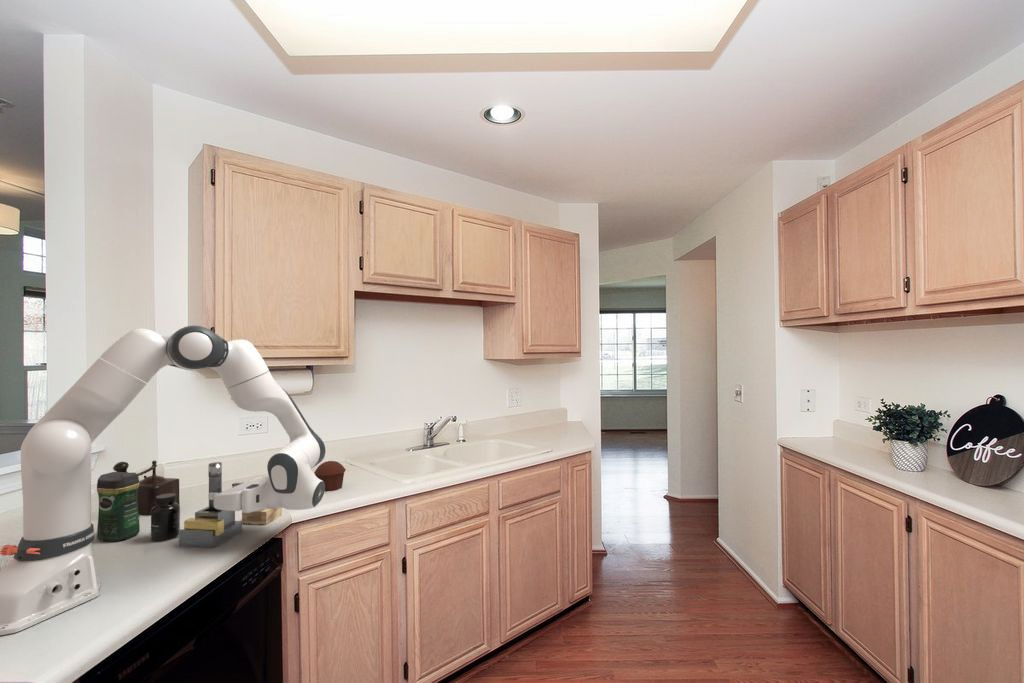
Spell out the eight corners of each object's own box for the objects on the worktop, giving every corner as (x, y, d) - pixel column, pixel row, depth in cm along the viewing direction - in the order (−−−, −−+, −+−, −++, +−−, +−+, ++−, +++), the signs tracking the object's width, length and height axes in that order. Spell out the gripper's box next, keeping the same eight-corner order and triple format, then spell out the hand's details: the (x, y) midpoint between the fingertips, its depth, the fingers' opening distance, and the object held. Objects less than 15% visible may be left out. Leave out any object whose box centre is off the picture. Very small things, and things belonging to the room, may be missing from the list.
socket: (212, 548, 132) (212, 518, 132) (178, 546, 134) (178, 517, 134) (242, 531, 144) (241, 504, 144) (211, 529, 146) (210, 503, 146)
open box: (266, 524, 149) (266, 511, 149) (242, 523, 150) (241, 510, 150) (281, 515, 157) (281, 503, 157) (258, 514, 158) (258, 502, 158)
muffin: (311, 486, 189) (311, 461, 189) (341, 482, 195) (340, 457, 195) (318, 494, 179) (318, 467, 179) (349, 489, 185) (349, 463, 185)
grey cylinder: (216, 528, 139) (216, 465, 139) (205, 528, 139) (205, 464, 139) (224, 524, 142) (224, 462, 142) (214, 523, 142) (214, 461, 142)
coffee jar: (145, 532, 144) (145, 469, 144) (119, 543, 136) (118, 476, 136) (118, 530, 146) (118, 468, 146) (90, 541, 138) (90, 475, 138)
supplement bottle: (146, 543, 136) (146, 500, 136) (157, 534, 143) (156, 493, 143) (174, 540, 138) (174, 498, 138) (183, 531, 144) (183, 491, 144)
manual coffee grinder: (151, 504, 170) (151, 452, 170) (180, 505, 168) (180, 452, 168) (109, 520, 154) (109, 463, 154) (141, 521, 153) (141, 464, 153)
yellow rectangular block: (217, 535, 133) (217, 522, 133) (184, 534, 134) (184, 521, 134) (224, 532, 135) (223, 519, 135) (191, 530, 136) (190, 517, 136)
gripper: (288, 471, 149) (246, 470, 150) (243, 491, 128) (195, 489, 130) (288, 492, 149) (246, 490, 150) (243, 515, 128) (195, 513, 130)
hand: (222, 490), depth 140 cm, fingers open, 8 cm apart
